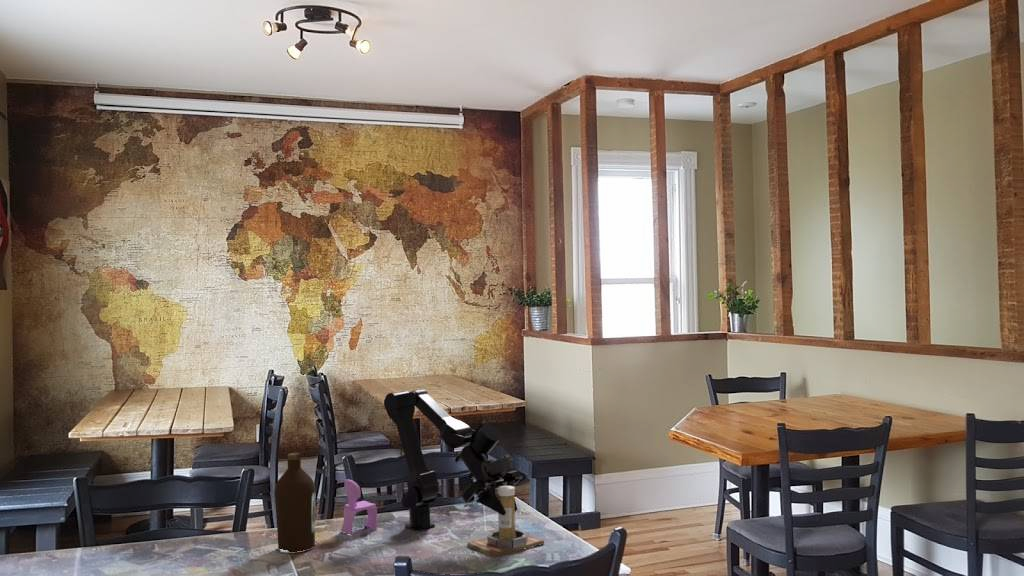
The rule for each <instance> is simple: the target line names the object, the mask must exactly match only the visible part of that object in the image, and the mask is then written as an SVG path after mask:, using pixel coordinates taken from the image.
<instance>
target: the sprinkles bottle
mask: <svg viewBox="0 0 1024 576" xmlns="http://www.w3.org/2000/svg"><path fill="white" fill-rule="evenodd" d="M496 490H497V495H498V496H497V498H498V500H499V501H500V503H501V504H502V506H503V508H504V510H505V512H506V514H505V515H501V514H499V513H498V512H497V515H498V516H497V518H498V519H497V520H498V530H499V539H515V538H516V536H515V529H516V511H515V502H514V498H515V494H516V488H515V486H514V487H513V486H500V487H498V489H496Z"/></svg>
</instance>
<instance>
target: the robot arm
mask: <svg viewBox="0 0 1024 576" xmlns="http://www.w3.org/2000/svg"><path fill="white" fill-rule="evenodd" d="M383 406H384V408H385V411H386V413H387V416H388V418H389V419H390V420H391V421H392V422H394V424H395V426H396V429H397V432H398V436H399V438H400V440H399V441H400V443H401V446H402V451H403V454H404V458H405V461H406V465H407V469H408V478H407V482H406V485H407V492H406V493H405V495H404V496H402V498H401V503H402V504H401V505H402V507H403V508H407V509H408V511H409V523H405V524H404V527H406V528H409V529H411V530H413V531H420V530H424V529H429V528H433V527H435V526H436V525H435V523H432V522H431V512H430V511H431V509H430V508H431V507H430V506H431V504H436V502H437V497H438V493H439V492H440V489H439V486H440V482H439V481H438V478H437V477H438V476H437V473H436V471H435V470H432V471H431V470H430V469H429V468H428V467H427V465H426V461H425V457H424V454H423V451H422V448H421V447H422V446H421V444H420V440H419V437H418V433H417V430H416V426H415V423H414V415H415V411H416V408H417V409H418V411H420V413H421V414H423V416H424V417H426V418H427V420H428V421H429V422H431V423H432V424H433V426H435V428H436V429H438V432H439V434H440V438H441V439H442V442H444V444H445V445H446V446H447V447H448V448H449V449H451V450H455V449H460V448H462V449H461V450H460V451H457V452H455V455H456V456H455V457H454V459H455V460H454V463H461V462H463V464H464V465H465V467H466V468H467V470H468V471H469V473H470V474H469V475H468V477H469V479H470V480H472V479H474V480H475V481H472V482H470V483H469V484H468V486H466V488H465V489H464V490H463V491H462V496H461V497H462V500H463V501H464V502H465V504H470V503H473V502H476V503H477V504H481V505H483V506H485V507H487V508H489V509H491V510H493V511H495V513H497V514H498V513H499V514H501V515H505V514H506V512H505V510H504V508H503V506H502V504H501V503H500V501H499V500H498V494H497V495H496V490H497V489H498V487H500V486H513V487H514V488H515V486H517V484H518V483H519V482H520V481H521V480H522V478H523V475H522V474H521V472H520V471H519V470H515V469H514V470H512V469H513V466H514V464H515V462H514V459H513V458H512V456H511V455H510V454H509V453H508V454H504V455H502V456H500V458H499V459H495V460H493V459H488V458H487V457H486V454H487V455H488V454H489V453H490V452H491V451H492V450H493V448H495V446H496V445H497V444H498V442H499V441H500V440H501V438H502V434H501V432H500V430H499V428H496V426H495V427H494V426H493V425H491V424H488V422H487V421H482V422H480V423H479V424H478V425H477V427H476V429H475V430H474V429H473V428H471V427H472V426H471V427H470V425H468V424H466V423H465V422H463V421H462V420H460V419H459V420H458V419H456V418H454V417H452V416H451V415H450V414H449V413H448V412H447V411H446V410H445V409H444V408H443V407H442V406H441V405H440V404H439V403H438V402H437V401H436V400H434V399H433V398H432V397H431V396H430V395H429V392H428V391H427V390H426V389H414V390H411V391H408V390H402V391H396V392H395V391H393V392H388V393H387V394H386V396H385V398H384V400H383ZM508 470H512V471H508ZM506 471H508V472H506ZM504 472H506V473H505V474H504ZM501 477H502V478H501ZM475 495H476V496H477V500H476V501H475ZM514 502H515V512H517V511H518V505H517V503H516V498H515V497H514Z"/></svg>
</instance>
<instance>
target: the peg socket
mask: <svg viewBox="0 0 1024 576" xmlns="http://www.w3.org/2000/svg"><path fill="white" fill-rule="evenodd" d="M528 533H529V532H527V531H524V530H521V529H517V528H515V536H516V538H515V539H499V529H498V530H494V531H490V532H489V534H487V537H486V538H487V540H488V545H490V546H493V547H495V548H516V547H520V546H524V545H526V543H527V541H528V535H529V534H528Z"/></svg>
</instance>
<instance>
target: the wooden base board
mask: <svg viewBox="0 0 1024 576" xmlns="http://www.w3.org/2000/svg"><path fill="white" fill-rule="evenodd" d="M466 544H467V547H468V548H470V549H473V550H476V551H478V552H480V553H483V554H484V555H487V556H490V557H493V558H496V557H500V556H503V555H507V554H511V553H512V554H513V553H514V552H515V551H516V552H520V551H523V550H522V549H524V548H528V549H530V548H529V547H532V546H536V545H540V544H544V545H545V540H543V539H541V538H539V537H536V536H533V535H530V534H528V541H527V543H526V545H524V546H520V547H516V548H495V547H493V546H490V545H488V540H487V537H485V538H480V539H475V540H471V541H468V542H467V543H466ZM540 546H541V545H540ZM536 547H537V546H536ZM532 548H533V547H532ZM519 550H520V551H519ZM524 550H525V549H524ZM516 552H515V553H516Z"/></svg>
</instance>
